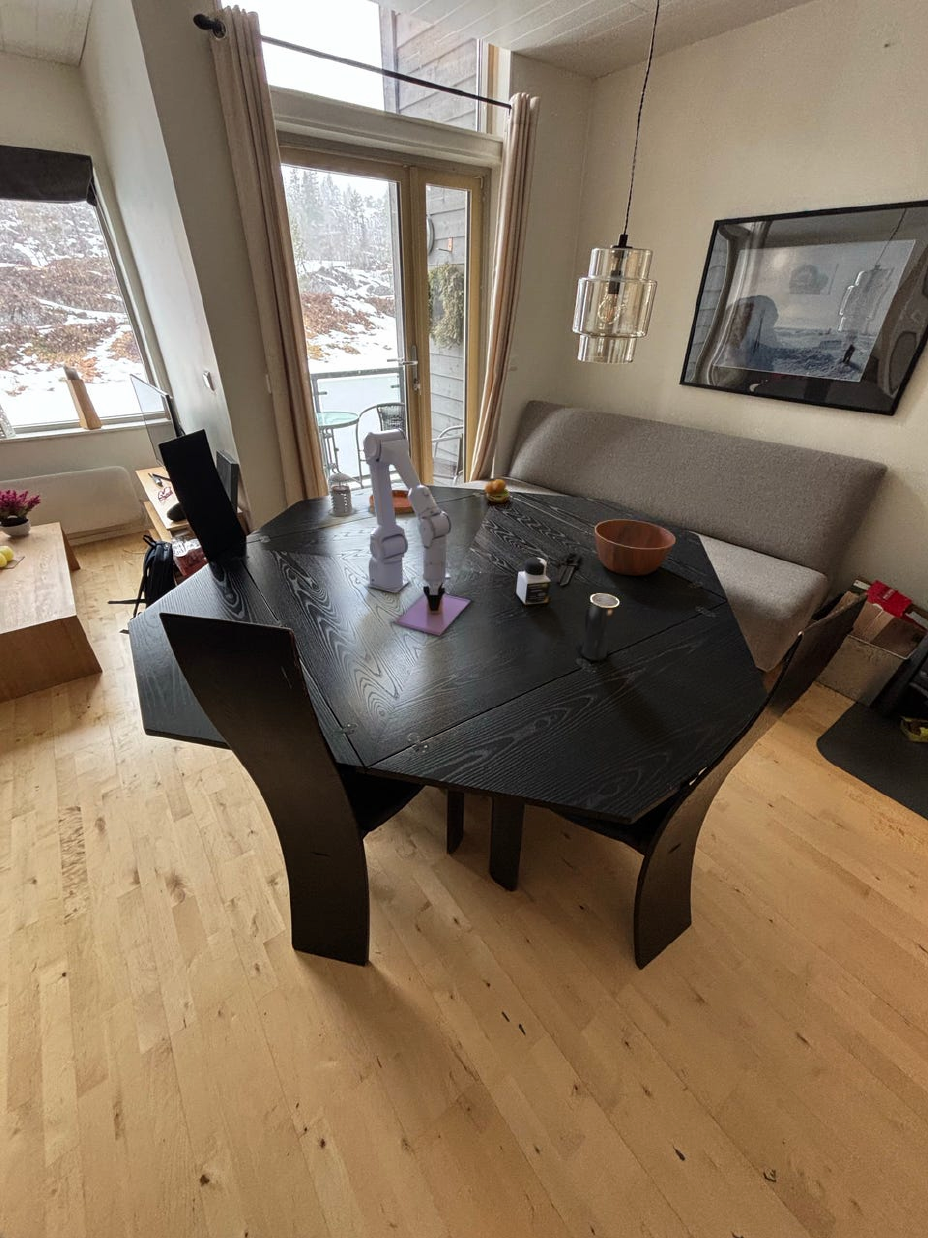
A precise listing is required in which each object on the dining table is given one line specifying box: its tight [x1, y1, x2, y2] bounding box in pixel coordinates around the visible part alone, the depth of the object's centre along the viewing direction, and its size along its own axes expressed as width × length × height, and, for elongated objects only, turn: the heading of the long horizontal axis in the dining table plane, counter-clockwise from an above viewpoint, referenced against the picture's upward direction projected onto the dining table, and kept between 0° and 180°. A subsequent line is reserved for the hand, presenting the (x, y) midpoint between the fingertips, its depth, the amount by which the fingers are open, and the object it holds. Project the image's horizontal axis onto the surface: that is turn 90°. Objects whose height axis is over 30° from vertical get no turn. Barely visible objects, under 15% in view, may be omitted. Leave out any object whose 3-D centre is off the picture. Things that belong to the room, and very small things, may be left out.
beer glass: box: [580, 593, 620, 662], centre depth 118 cm, size 7×7×15 cm
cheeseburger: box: [484, 478, 510, 504], centre depth 217 cm, size 10×11×10 cm
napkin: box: [394, 593, 471, 637], centre depth 136 cm, size 13×20×1 cm, turn 156°
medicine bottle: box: [515, 557, 551, 606], centre depth 142 cm, size 7×7×12 cm
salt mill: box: [427, 587, 443, 615], centre depth 134 cm, size 4×4×8 cm
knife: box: [554, 551, 581, 586], centre depth 161 cm, size 25×6×1 cm, turn 154°
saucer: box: [368, 489, 414, 514], centre depth 207 cm, size 23×23×4 cm
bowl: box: [594, 519, 676, 577], centre depth 163 cm, size 25×25×11 cm
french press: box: [327, 447, 356, 517], centre depth 193 cm, size 10×12×25 cm
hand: (434, 605), depth 135 cm, fingers closed on salt mill, 4 cm apart
